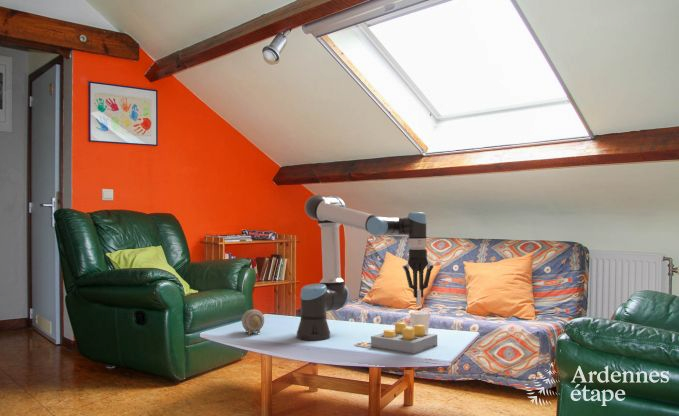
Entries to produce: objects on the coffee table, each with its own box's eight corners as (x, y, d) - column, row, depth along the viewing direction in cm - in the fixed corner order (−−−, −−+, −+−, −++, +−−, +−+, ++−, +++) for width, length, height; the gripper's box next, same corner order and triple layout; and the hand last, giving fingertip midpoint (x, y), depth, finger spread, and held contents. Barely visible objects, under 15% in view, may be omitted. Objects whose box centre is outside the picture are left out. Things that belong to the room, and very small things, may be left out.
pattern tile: (354, 345, 218) (354, 343, 218) (362, 343, 222) (362, 341, 222) (366, 347, 214) (366, 345, 214) (374, 345, 219) (374, 343, 219)
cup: (416, 333, 243) (416, 310, 243) (435, 336, 237) (435, 312, 237) (405, 337, 235) (405, 312, 236) (424, 340, 229) (424, 314, 229)
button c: (392, 335, 223) (392, 323, 223) (398, 333, 227) (398, 321, 227) (402, 336, 220) (402, 324, 220) (408, 334, 224) (408, 323, 224)
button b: (400, 341, 210) (400, 328, 210) (406, 339, 214) (406, 327, 214) (410, 342, 207) (410, 330, 207) (416, 340, 211) (416, 328, 211)
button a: (381, 343, 216) (381, 331, 216) (387, 341, 219) (387, 329, 220) (391, 344, 213) (391, 332, 213) (397, 342, 216) (397, 330, 217)
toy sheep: (246, 337, 235) (246, 312, 235) (237, 330, 250) (237, 307, 251) (268, 335, 239) (268, 311, 240) (258, 329, 255) (259, 306, 255)
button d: (411, 337, 217) (411, 325, 218) (417, 335, 221) (416, 324, 221) (421, 339, 214) (421, 327, 215) (427, 337, 218) (427, 325, 218)
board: (371, 347, 215) (371, 336, 215) (396, 339, 231) (396, 329, 231) (413, 354, 203) (413, 342, 203) (437, 345, 219) (437, 334, 219)
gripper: (404, 249, 215) (405, 307, 213) (435, 248, 216) (436, 306, 215) (400, 248, 222) (401, 304, 221) (430, 248, 224) (431, 303, 222)
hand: (418, 305), depth 218 cm, fingers closed
